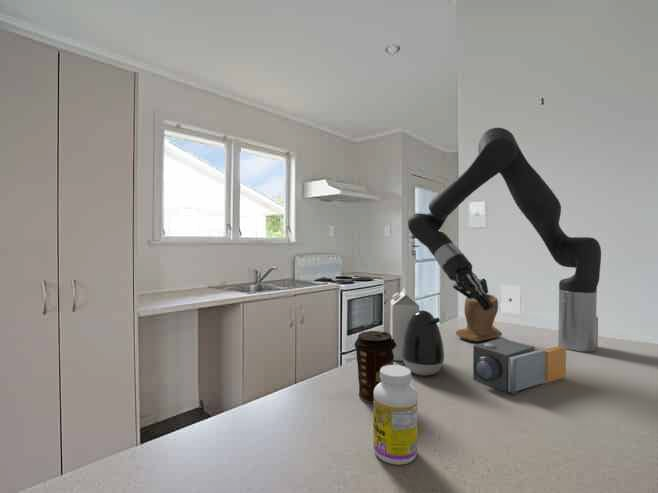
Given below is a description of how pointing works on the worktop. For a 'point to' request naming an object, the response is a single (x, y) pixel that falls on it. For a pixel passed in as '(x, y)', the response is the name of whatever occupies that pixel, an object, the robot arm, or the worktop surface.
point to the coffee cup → (372, 360)
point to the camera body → (495, 361)
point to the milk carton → (400, 319)
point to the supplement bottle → (395, 416)
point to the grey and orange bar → (536, 368)
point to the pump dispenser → (423, 344)
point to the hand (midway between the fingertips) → (489, 308)
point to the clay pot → (479, 320)
